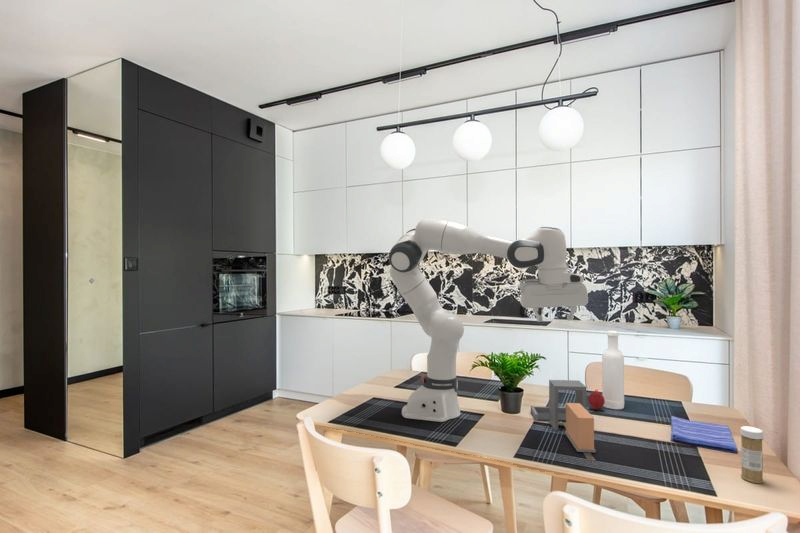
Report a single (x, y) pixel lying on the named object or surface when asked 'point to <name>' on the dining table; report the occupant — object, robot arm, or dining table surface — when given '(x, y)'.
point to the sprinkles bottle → (751, 454)
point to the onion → (596, 400)
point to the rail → (587, 454)
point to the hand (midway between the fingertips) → (554, 320)
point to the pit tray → (547, 413)
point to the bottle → (613, 374)
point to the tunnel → (553, 397)
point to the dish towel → (702, 434)
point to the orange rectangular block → (580, 427)
